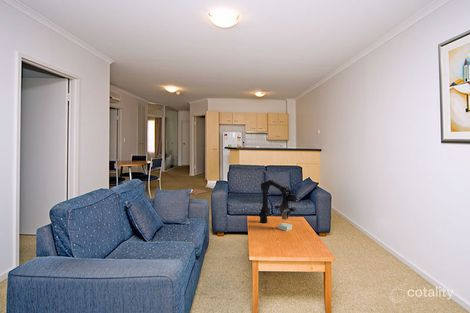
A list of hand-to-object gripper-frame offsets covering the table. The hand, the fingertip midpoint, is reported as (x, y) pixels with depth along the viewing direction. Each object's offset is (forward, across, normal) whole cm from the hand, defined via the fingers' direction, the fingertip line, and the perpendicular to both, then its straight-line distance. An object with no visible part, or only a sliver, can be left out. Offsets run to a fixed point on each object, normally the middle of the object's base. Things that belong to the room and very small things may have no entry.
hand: (285, 217), depth 236 cm
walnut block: (+1, 0, 0) cm, 1 cm away
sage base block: (+10, 0, 0) cm, 11 cm away
